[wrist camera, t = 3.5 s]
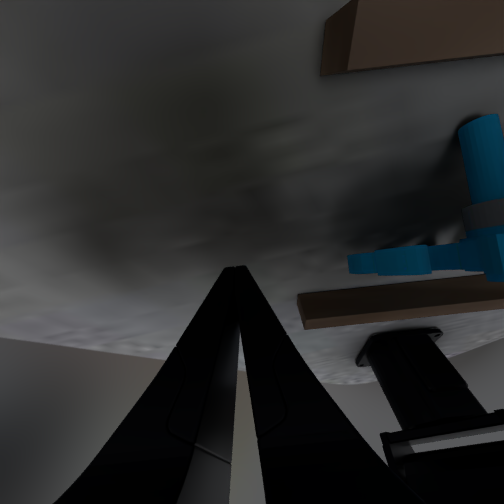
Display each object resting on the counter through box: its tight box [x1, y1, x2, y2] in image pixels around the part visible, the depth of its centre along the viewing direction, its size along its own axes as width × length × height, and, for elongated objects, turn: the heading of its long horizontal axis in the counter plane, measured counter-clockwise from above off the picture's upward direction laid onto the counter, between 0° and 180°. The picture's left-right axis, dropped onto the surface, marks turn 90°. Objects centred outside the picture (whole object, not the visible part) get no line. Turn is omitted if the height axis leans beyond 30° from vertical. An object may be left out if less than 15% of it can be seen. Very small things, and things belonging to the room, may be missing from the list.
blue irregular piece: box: [347, 114, 504, 282], centre depth 7 cm, size 11×6×10 cm
